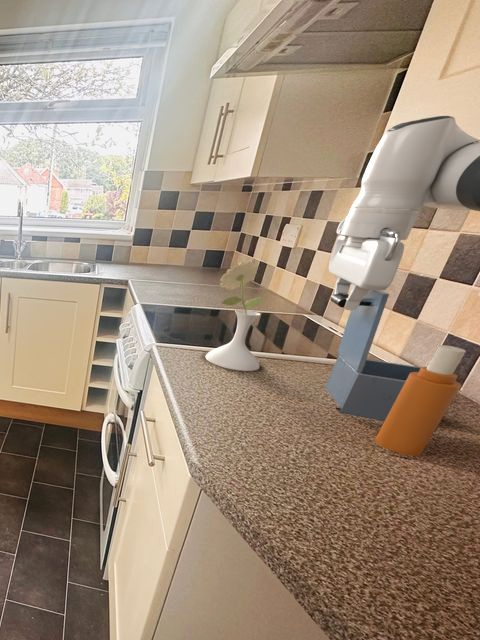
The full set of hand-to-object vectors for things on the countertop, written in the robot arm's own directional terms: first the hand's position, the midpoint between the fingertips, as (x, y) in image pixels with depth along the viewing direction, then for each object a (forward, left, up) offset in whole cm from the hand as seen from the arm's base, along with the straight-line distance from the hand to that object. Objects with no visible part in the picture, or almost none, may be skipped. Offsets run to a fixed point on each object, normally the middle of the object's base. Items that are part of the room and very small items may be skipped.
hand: (343, 305), depth 78 cm
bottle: (-10, +16, -20) cm, 27 cm away
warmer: (-11, 0, -20) cm, 23 cm away
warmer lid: (-4, 0, -3) cm, 5 cm away
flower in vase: (+13, -12, -20) cm, 27 cm away
